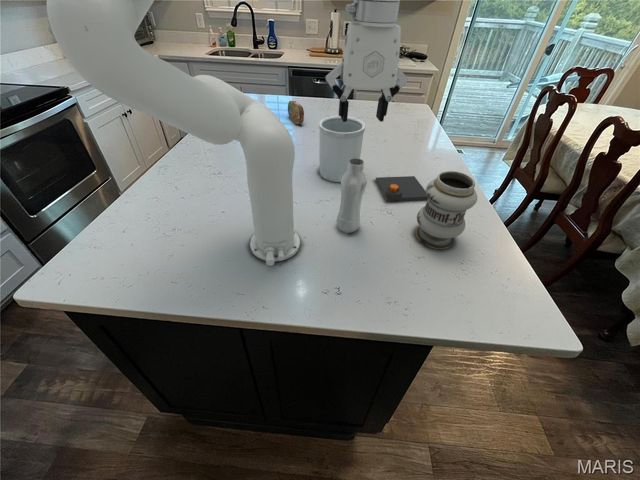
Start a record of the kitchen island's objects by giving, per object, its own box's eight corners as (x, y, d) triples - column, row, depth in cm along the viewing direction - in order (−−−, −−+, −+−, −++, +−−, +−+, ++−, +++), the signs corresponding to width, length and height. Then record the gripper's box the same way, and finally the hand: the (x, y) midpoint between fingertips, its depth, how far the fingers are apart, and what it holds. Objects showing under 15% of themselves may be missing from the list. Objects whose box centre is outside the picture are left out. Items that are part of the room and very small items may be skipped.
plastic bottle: (333, 232, 80) (339, 165, 67) (339, 218, 85) (346, 153, 72) (356, 238, 79) (367, 170, 66) (361, 223, 84) (372, 157, 70)
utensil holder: (323, 185, 98) (326, 134, 86) (312, 165, 109) (313, 116, 97) (364, 181, 101) (372, 130, 90) (350, 161, 112) (355, 114, 100)
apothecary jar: (403, 235, 80) (420, 177, 68) (425, 218, 87) (445, 161, 75) (443, 259, 74) (470, 199, 62) (464, 238, 81) (493, 180, 69)
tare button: (398, 192, 92) (399, 188, 91) (390, 192, 92) (391, 188, 91) (395, 188, 94) (396, 183, 93) (388, 188, 93) (389, 184, 92)
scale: (428, 200, 94) (431, 192, 92) (386, 202, 92) (387, 194, 90) (413, 179, 104) (415, 171, 102) (374, 181, 102) (375, 173, 100)
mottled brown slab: (287, 116, 146) (286, 98, 140) (293, 115, 147) (293, 97, 141) (298, 127, 136) (298, 108, 130) (305, 126, 137) (305, 107, 131)
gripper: (329, 14, 47) (323, 126, 58) (432, 18, 49) (407, 125, 61) (322, 10, 52) (318, 113, 64) (415, 14, 54) (395, 113, 66)
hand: (361, 118), depth 62 cm, fingers open, 7 cm apart
